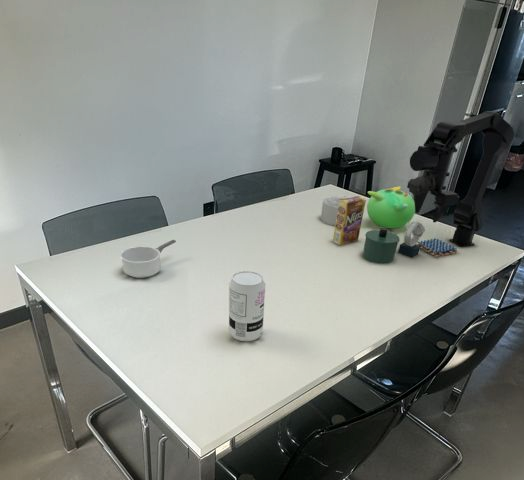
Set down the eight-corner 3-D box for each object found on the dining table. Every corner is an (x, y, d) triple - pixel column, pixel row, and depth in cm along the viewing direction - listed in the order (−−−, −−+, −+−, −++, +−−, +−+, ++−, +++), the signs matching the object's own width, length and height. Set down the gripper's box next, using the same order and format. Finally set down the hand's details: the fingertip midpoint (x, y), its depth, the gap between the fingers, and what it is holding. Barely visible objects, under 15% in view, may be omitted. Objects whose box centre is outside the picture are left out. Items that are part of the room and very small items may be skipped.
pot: (382, 250, 159) (386, 230, 155) (399, 262, 152) (404, 241, 148) (357, 253, 156) (360, 233, 152) (373, 265, 148) (377, 245, 144)
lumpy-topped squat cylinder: (343, 228, 175) (347, 205, 170) (315, 220, 181) (317, 197, 176) (356, 221, 181) (360, 199, 176) (328, 213, 188) (331, 192, 183)
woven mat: (436, 258, 156) (437, 252, 155) (414, 246, 163) (415, 241, 162) (458, 253, 160) (459, 248, 159) (435, 242, 167) (437, 237, 166)
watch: (421, 253, 159) (429, 222, 152) (409, 259, 154) (417, 227, 147) (406, 248, 162) (414, 217, 155) (394, 254, 157) (402, 223, 150)
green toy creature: (415, 225, 181) (425, 187, 173) (401, 238, 169) (411, 198, 161) (372, 215, 189) (379, 178, 180) (356, 226, 177) (363, 188, 168)
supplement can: (228, 324, 115) (228, 270, 106) (261, 324, 116) (264, 270, 107) (229, 343, 108) (229, 286, 100) (263, 342, 109) (267, 286, 101)
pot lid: (386, 231, 156) (388, 221, 154) (405, 244, 148) (408, 233, 146) (358, 234, 153) (360, 224, 150) (376, 247, 144) (378, 236, 142)
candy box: (340, 246, 160) (347, 202, 151) (332, 241, 163) (338, 198, 154) (358, 241, 165) (366, 199, 156) (350, 237, 167) (357, 195, 159)
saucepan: (189, 261, 144) (188, 244, 141) (141, 284, 130) (139, 266, 127) (162, 251, 149) (161, 235, 146) (113, 272, 135) (111, 254, 132)
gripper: (398, 161, 146) (388, 210, 155) (436, 177, 132) (422, 229, 141) (427, 160, 150) (416, 207, 159) (466, 175, 136) (451, 226, 145)
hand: (425, 217), depth 151 cm, fingers open, 9 cm apart
